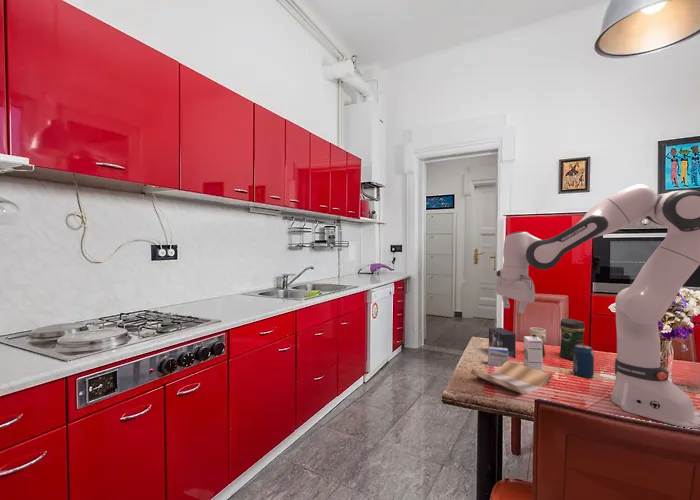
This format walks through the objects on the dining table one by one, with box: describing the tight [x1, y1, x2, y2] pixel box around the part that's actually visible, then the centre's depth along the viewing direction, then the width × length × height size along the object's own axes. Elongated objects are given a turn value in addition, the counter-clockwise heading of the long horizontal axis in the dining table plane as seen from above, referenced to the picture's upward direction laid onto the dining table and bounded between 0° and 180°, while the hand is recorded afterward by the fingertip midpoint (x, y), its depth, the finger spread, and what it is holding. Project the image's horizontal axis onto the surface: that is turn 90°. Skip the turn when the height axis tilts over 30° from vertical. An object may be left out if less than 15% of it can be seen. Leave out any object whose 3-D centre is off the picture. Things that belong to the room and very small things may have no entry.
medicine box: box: [487, 346, 510, 367], centre depth 147 cm, size 8×4×9 cm, turn 73°
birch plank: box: [470, 369, 529, 395], centre depth 123 cm, size 18×8×2 cm, turn 33°
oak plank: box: [496, 360, 553, 388], centre depth 132 cm, size 18×8×2 cm, turn 32°
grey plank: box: [487, 371, 541, 393], centre depth 128 cm, size 18×8×2 cm, turn 33°
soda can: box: [572, 344, 595, 379], centre depth 138 cm, size 7×7×12 cm
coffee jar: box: [559, 318, 586, 361], centre depth 160 cm, size 10×8×19 cm
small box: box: [488, 327, 517, 359], centre depth 165 cm, size 13×7×12 cm, turn 6°
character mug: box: [529, 326, 547, 356], centre depth 164 cm, size 11×7×13 cm, turn 6°
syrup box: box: [523, 335, 544, 372], centre depth 142 cm, size 6×6×14 cm
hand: (513, 310), depth 128 cm, fingers open, 8 cm apart
